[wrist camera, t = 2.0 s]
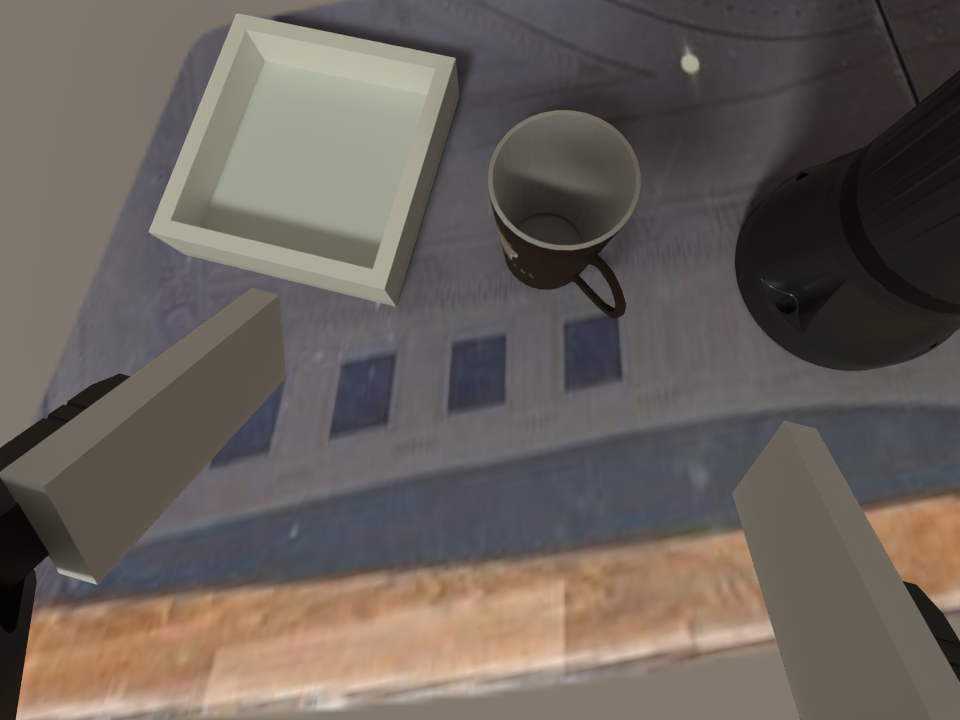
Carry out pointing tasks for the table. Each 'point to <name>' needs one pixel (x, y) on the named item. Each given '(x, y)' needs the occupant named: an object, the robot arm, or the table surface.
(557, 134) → the coffee mug
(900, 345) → the robot arm
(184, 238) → the white storage tray
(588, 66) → the table surface
